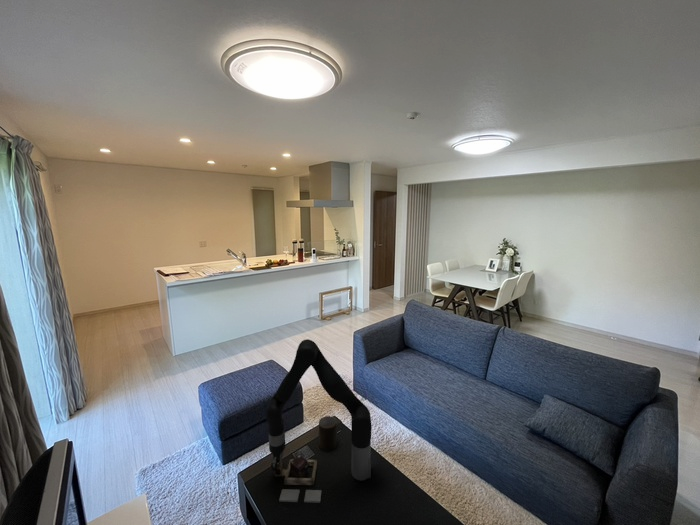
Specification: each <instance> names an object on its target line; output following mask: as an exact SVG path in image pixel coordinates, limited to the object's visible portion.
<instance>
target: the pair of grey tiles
mask: <svg viewBox="0 0 700 525" xmlns="http://www.w3.org/2000/svg"><path fill="white" fill-rule="evenodd" d="M300 490H301V489H289V488H288V489H286V488H285V489H284V488H283V489H281V493H280V496H279V500H278V501H279V502H281V503H282V502H284V503H288V502H289V503H298V502H299V495H300V492H301V491H300ZM321 498H322V490H321V489H315V490H314V489H305V495H304V500H303V502H304V503H311V504H313V503H318V504H319V503H321V500H322V499H321Z"/></svg>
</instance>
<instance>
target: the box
mask: <svg viewBox="0 0 700 525" xmlns="http://www.w3.org/2000/svg"><path fill="white" fill-rule="evenodd" d="M293 459H294V460H293V461H291V462H290V476H291V478H306V476H307V475H308V473H309V472H308V469H309V468H308V467H309V466H307V460H308V459H306V458H305V457H303V456H302V455H300V454H298V455H297V456H296V457H294V458H293Z"/></svg>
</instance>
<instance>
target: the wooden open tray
mask: <svg viewBox="0 0 700 525" xmlns="http://www.w3.org/2000/svg"><path fill="white" fill-rule="evenodd" d="M293 460H294V458H292V459H291V458H290V459H289V463H288V465H287V469H285V468H283V459H282V460H281V463H280V475H275V474H274V476H275V477H284V480H283V481H284V483H283V484H284V485H287V486H292V485H293V486H315V481H316V480H315V479H316V473H317V468H318V460H317V459H306V460H307V467H312V472H311V473H312V474H311V477H304V478H293V477H290V476H291V473H290V462H291V461H293ZM277 465H278V464H277Z"/></svg>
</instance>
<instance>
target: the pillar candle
mask: <svg viewBox="0 0 700 525" xmlns="http://www.w3.org/2000/svg"><path fill="white" fill-rule="evenodd" d="M337 432H338V431H337V419H336V418H335V417H333V416H330V415H326V416H323V417H321V418H320V419H319V422H318V446H319V448H320V450H322V451H324V452H331V451H333V450H335V449H336V447H337V445H338V444H337V440H338V436H337Z"/></svg>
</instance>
